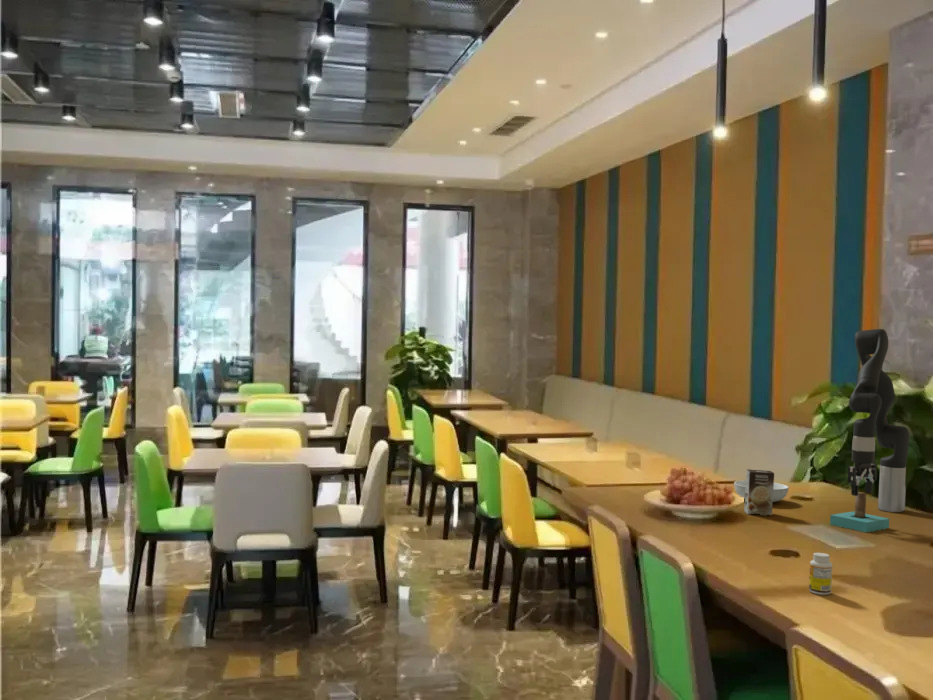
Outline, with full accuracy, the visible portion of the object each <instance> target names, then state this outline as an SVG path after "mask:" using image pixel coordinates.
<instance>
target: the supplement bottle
mask: <svg viewBox="0 0 933 700" xmlns="http://www.w3.org/2000/svg"><path fill="white" fill-rule="evenodd" d="M812 558H813V559H812V560H810V561H809V575H808V576H809V577H808V578H809V582H808V583H809V584H808V589H809V592H810V593H812V594H815V595H819V596H820V595H821V596H828V595H830V594H831V593H832V583H833V582H832V581H833V580H832V579H833V563H832V562H831V561H830V555H829V554H828V553H823V552H813V556H812Z"/></svg>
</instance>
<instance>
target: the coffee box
mask: <svg viewBox="0 0 933 700" xmlns="http://www.w3.org/2000/svg"><path fill="white" fill-rule="evenodd" d="M745 480H746V490H745V499H744V506H743V508H744V509H743V510H744V513H746V514H747V515H751V514H760V515H759V516H767V515H772V516H773V503H774V502H773V486H774V483H775V472H773V471H771V470H762V469H750V468H749V469H748V468H746V477H745Z"/></svg>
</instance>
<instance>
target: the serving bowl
mask: <svg viewBox="0 0 933 700" xmlns="http://www.w3.org/2000/svg"><path fill="white" fill-rule="evenodd" d="M733 483H734V484H733V486H734V490H735V492H736V494H737V495H738V496H739V495H740V496H739V497H741V496H742V497H744V498H745V490H746V479H745V480H736V481H734V482H733ZM788 493H789V486H788V485H785V484H783V483H779V482H778V483H777V482H774V486H773V503H775V502H779V501H781V500H784V499H785V497H786V496H787V494H788ZM742 497H741V498H742ZM744 498H743V499H744Z"/></svg>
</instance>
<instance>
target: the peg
mask: <svg viewBox="0 0 933 700" xmlns="http://www.w3.org/2000/svg"><path fill="white" fill-rule="evenodd" d="M854 497H855V498H854V512H855V517H856V518H861V519H864V518H865V514H866V509H867V507H866V506H867V505H866V504H867V493H866V492H862V491H861V492H860V491H858V496H854Z"/></svg>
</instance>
